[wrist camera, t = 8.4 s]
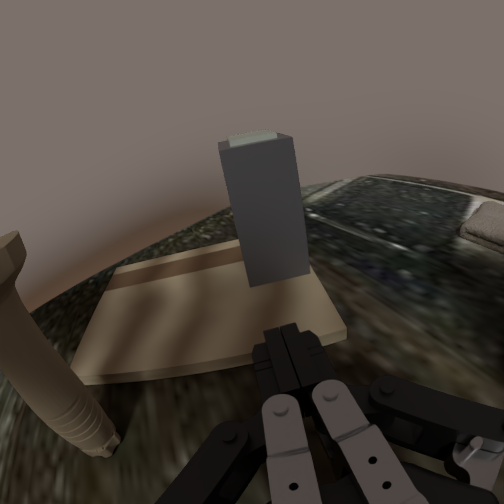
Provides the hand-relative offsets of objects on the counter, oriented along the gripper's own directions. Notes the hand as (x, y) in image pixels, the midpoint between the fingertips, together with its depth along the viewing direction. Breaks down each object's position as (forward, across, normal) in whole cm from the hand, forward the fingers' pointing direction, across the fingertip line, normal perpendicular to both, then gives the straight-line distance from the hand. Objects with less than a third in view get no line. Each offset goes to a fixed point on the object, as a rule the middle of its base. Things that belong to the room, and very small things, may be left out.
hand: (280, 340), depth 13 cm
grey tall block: (+18, -3, +6) cm, 19 cm away
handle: (0, +14, +7) cm, 15 cm away
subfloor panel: (+16, +6, +7) cm, 18 cm away
